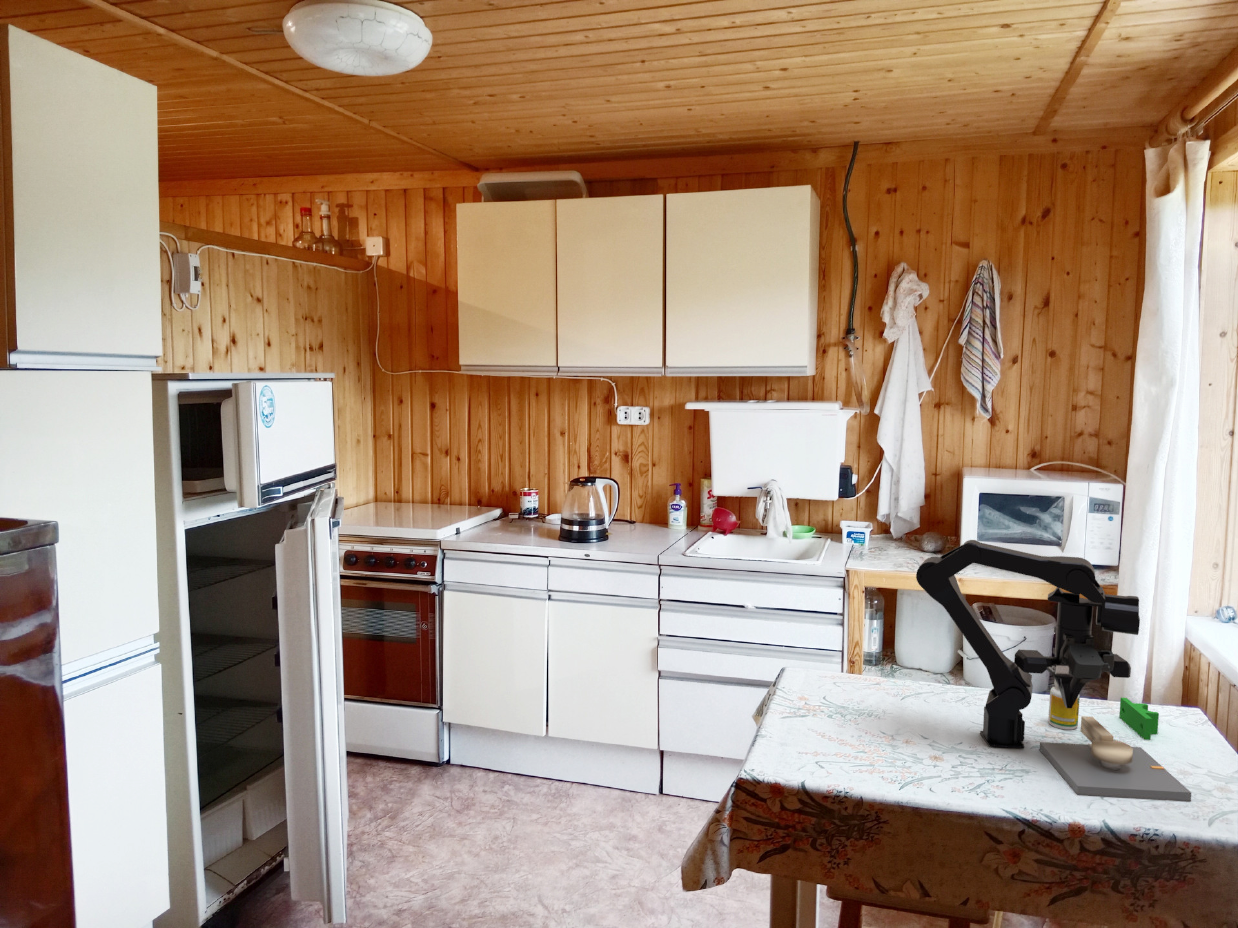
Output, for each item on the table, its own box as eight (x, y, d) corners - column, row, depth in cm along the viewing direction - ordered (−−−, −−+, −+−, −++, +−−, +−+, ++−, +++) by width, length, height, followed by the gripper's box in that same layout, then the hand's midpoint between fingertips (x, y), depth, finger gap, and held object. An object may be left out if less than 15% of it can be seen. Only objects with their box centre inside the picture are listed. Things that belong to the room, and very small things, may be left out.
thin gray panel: (1077, 794, 148) (1078, 777, 148) (1039, 749, 166) (1040, 734, 166) (1190, 800, 146) (1192, 783, 146) (1140, 754, 164) (1141, 739, 164)
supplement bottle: (1045, 718, 181) (1047, 673, 180) (1072, 720, 180) (1075, 675, 179) (1052, 729, 176) (1055, 682, 175) (1081, 731, 175) (1084, 684, 174)
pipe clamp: (1164, 741, 171) (1166, 719, 170) (1144, 740, 171) (1145, 718, 171) (1138, 718, 182) (1139, 697, 181) (1119, 717, 182) (1120, 696, 182)
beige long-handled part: (1138, 765, 152) (1140, 748, 152) (1100, 763, 153) (1101, 746, 153) (1103, 732, 166) (1104, 717, 166) (1068, 730, 167) (1069, 715, 167)
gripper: (1036, 637, 155) (1031, 721, 157) (1148, 642, 153) (1141, 727, 155) (1015, 619, 166) (1010, 698, 168) (1119, 624, 164) (1113, 704, 166)
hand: (1068, 707), depth 164 cm, fingers closed
